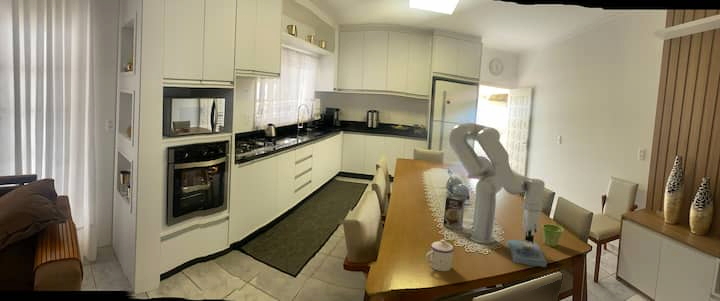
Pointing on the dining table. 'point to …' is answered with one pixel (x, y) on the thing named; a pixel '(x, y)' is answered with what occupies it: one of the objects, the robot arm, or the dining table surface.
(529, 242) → the ball
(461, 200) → the coffee box
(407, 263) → the dining table surface
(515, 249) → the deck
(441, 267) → the teacup with lid
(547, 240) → the plant pot
